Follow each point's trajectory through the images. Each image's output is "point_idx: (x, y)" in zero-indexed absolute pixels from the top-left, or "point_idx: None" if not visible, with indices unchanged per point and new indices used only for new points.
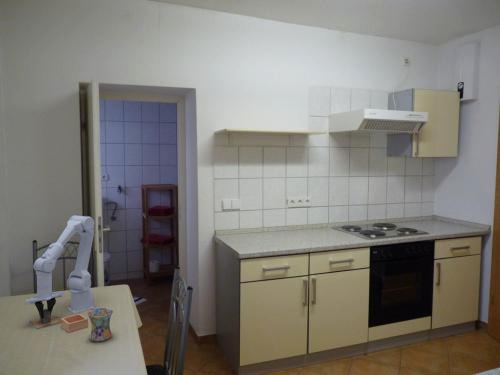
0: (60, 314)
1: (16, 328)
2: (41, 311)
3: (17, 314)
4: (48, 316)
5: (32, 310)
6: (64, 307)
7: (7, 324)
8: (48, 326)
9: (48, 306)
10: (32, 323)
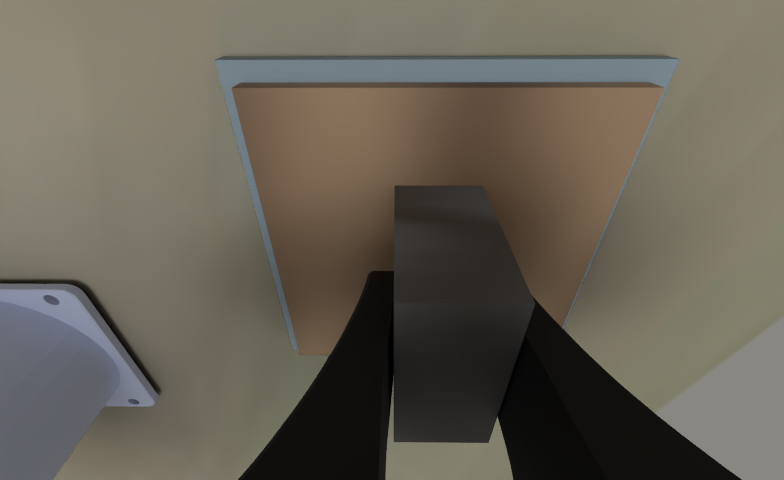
0: (233, 345)
1: (686, 304)
2: (593, 378)
3: (494, 473)
4: (432, 243)
5: (398, 475)
6: (188, 426)
7: (648, 400)
8: (468, 76)
9: (382, 475)
10: (574, 284)
